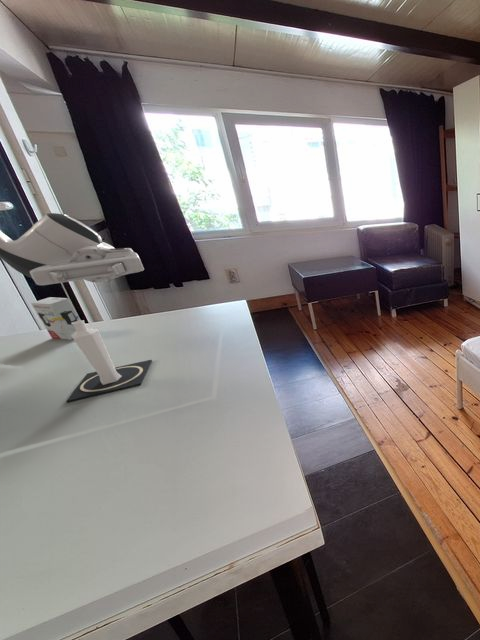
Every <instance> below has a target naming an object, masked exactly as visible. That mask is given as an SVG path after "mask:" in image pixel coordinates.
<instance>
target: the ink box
mask: <svg viewBox="0 0 480 640" xmlns="http://www.w3.org/2000/svg"><path fill="white" fill-rule="evenodd" d="M30 304H31V306H32V308H33V309H34V311H35V313H36V314H37V316H38V318H39V319H40V321H41V323H42V324H43V326H44V327H45V329H46V331H47V332H48V334H49V336H50V337H51V339H57V340H67V341H68V340H70V341H72V340H74V339H73V338H72V337H71V335H72V334H73V333H75V332H76V329H75V328H74V326H73V324H71V323H72V322H76V321H80V320H81V318H80V317H79V314H78V313H77V311H76V309H75V307H74V306H73V304H72V302H71V300H70V299H69V298H68V297H52V296H49V297H46V298H43V299H39V300H36V301H33V302H30Z"/></svg>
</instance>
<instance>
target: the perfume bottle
mask: <svg viewBox="0 0 480 640" xmlns="http://www.w3.org/2000/svg"><path fill="white" fill-rule="evenodd" d="M71 324H73V326H74V328H75V329H76V332H75V333H73V334H72V335H71V337H72V338H73V339H72V340H73V341H74V342H75V343H76V344H75V345H77V347H78V348H79V350H80V351H81V353H83V355H84V356H85V358H86V359H87V361H88V363H89V364H90V365H91V366H92V368H93V369H94V372H97V373H98V375H99V377H100V381H101V383H102V384H103V385H104V384H108V383H112V382H115V381H117V380H119V379H120V378H121V377H122V376H121V375H120V374H119V373H118V372H117V371H116V369H115V367H116V366H115V365H114V362H113V359H112V357H111V355H110V354H109V350H108V348H107V347H106V345H105V342H104V339H103V338H102V335H101V333H100V331H99V329H96V328H88V326H87V325H86V322H85V320H84V319H83V320H82V319H80V321H76V322H72V323H71Z"/></svg>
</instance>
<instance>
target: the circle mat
mask: <svg viewBox="0 0 480 640" xmlns="http://www.w3.org/2000/svg"><path fill="white" fill-rule="evenodd" d="M152 362H153V360H152V359H147V360H143V361H139V362H134V363H129V364H125V365H120V366H114V367H115V369H116V371H117V372H118V373H119V374H120V375H121V376H122V377H121V378H120V379H119V380H117V381H115V382H112V383H108V384H104V385H103V384H102V383H101V381H100V377H99V375H98V373H97V372H96V371H93V372H88V373H86V375H85V376H84V377H83V379H82V380H81V381H80V382H79V384H78V385H77V386H76V387H75V389H74V390H73V392H72V393H71V394H70V395H69V397H68V398H67V399H66V403H71V402H75V401H76V402H77V401H79V400H83V399H88V398H92V397H96V396H101V395H104V394H108V393H112V392H117V391H121V390H126V389H130V388H133V387H139V386H141V385H142V383H143V381H144V379H145V377H146V375H147V373H148V370H149V369H150V366H151V364H152Z"/></svg>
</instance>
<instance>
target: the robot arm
mask: <svg viewBox="0 0 480 640" xmlns="http://www.w3.org/2000/svg"><path fill="white" fill-rule="evenodd" d="M0 259H1V260H2V261H3V262H4V263H6V264H7V265H8V266H10V267H11V268H12V269H13V270H15V271H16V272H18V273H19V274H21V275H24V276H26V277H28V278H31V279H32V280H33V281H34V283H35V284H36V285H37V286H48V285H54V284H55V285H56V284H61V283H69V282H76V281H82V280H84V281H87V282H91V283H98V284H99V283H107V282H108V281H111V280H112V279H117V278H119V277H122V276H127V275H132V274H136V273H140V272H143V271H144V270H145V267H144V265H143V263H142V260H141V258H140V256H139V254H138V253H137V252H135V251H134V250H133V249H132V248H131V247H119V248H118V247H116V248H115V247H114V246H112V245H111V244H110V243H107V242H104V241H103V238H102V237H101V235H100V234H99V232H97V231H96V230H95V229H94V228H93V227H91V226H90V225H88V224H86V223H85V222H83V221H82V220H80V219H78V218H76V217H73V216H71V215H68V214H63V213H56V212H49V213H46V214H45V215H43V216H42V217H41V218H40V219H39V220H37V221H36V222H35V223H34V224H33V225H32V226H31V227H30V228H29V229H28V230H27V231H26V232H24V233H23V234H22V235H21V236H20V237H18V238H17V239H14V240H13V239H12V238H11V237H9V236H8V235H7V234H5V233H4V232H2V230H0Z"/></svg>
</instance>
